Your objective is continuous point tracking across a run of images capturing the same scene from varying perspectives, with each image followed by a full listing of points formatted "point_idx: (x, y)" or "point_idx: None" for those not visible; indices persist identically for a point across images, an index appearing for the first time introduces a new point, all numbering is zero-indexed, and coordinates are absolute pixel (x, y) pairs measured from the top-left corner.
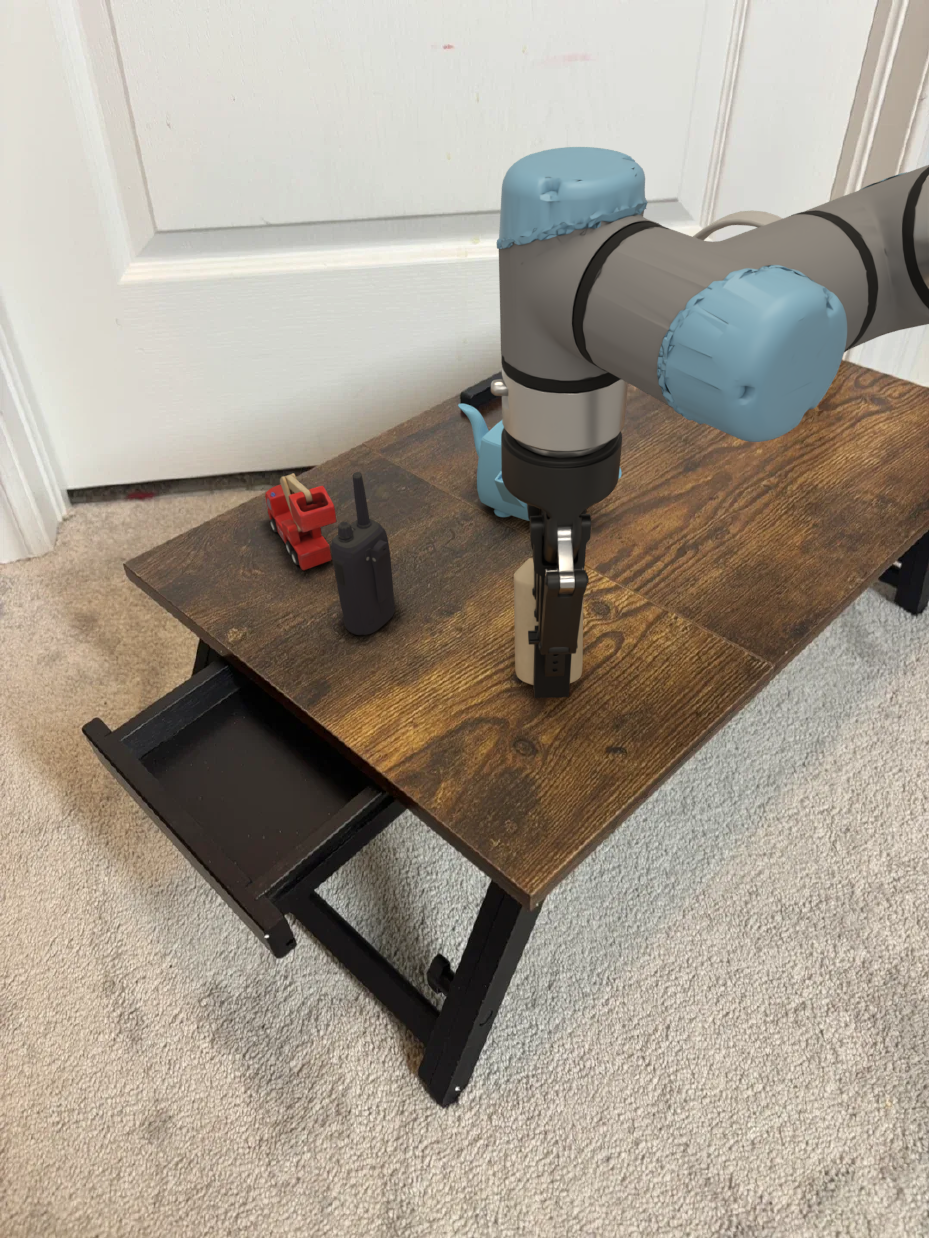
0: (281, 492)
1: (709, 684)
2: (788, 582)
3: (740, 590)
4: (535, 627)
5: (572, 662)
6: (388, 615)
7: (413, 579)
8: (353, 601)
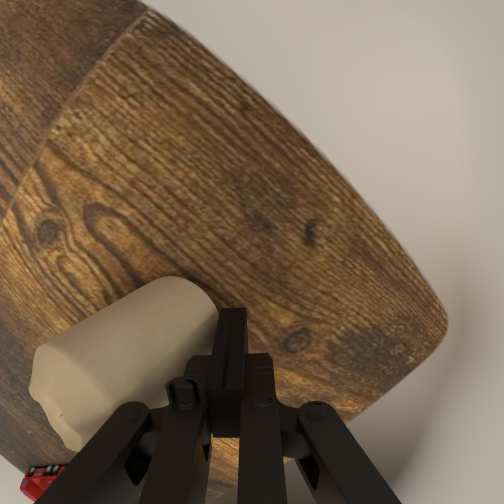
0: (32, 497)
1: (185, 84)
2: (25, 2)
3: (25, 50)
4: (217, 436)
5: (193, 312)
6: None
7: None
8: (137, 499)
